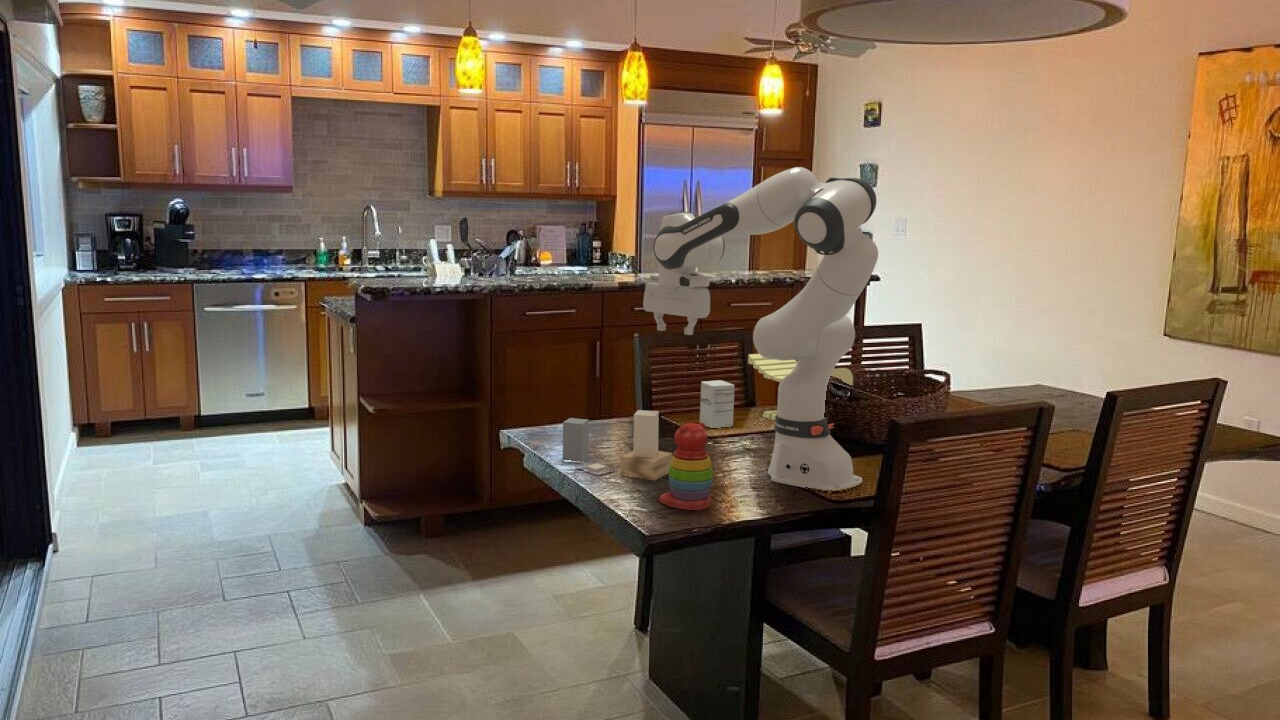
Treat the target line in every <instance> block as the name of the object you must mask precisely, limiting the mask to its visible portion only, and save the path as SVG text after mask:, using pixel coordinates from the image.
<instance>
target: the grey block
mask: <svg viewBox="0 0 1280 720" xmlns="http://www.w3.org/2000/svg"><path fill="white" fill-rule="evenodd" d="M589 422H590V419H585V418H575V417H570V418H568V419H566V420H564V421H563V422H562V461H563V460H571V461H580V462H582V461H584V460H585V459H586V458H588V457H589V452H590V451H589V449H590V448H589V447H590V446H589V444H590V443H589V442H590V439H589V438H590V436H589V435H590V433H589V432H590V423H589Z"/></svg>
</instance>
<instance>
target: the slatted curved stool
mask: <svg viewBox="0 0 1280 720" xmlns="http://www.w3.org/2000/svg"><path fill="white" fill-rule="evenodd" d="M797 362H798V360H784V361H782V360H775V359H769V358H765V357H762V356H761V355H760V354H759V353H751V354H750V353H749V354H748V358H747V364H749V365H753V366H752V367H753V369H756V370H758V372H757V373H759V374H761V375H762V374H763V378H764V379H768V380H772V381H775V382H778V383H780V382H781V380H782V379H783V378H784V377H785V376H787V375H788V374H790V373H791V372H792V371H793V369H794V368H795V366H796V364H797ZM831 376H834V377H836V378H839V379H841V380H842V381H843V382H845V383H847V384H849V385H852V386H853V385H854V377H853V373H852V371H851V370H850V369H849V368H847V367H840V368H834V369H833V371H832V374H831ZM776 415H777V409H773V410H767V411H763V414H762V416H764V417H767V418H771V419H773V420H775V416H776ZM764 417H763V418H764ZM771 419H770V420H771Z"/></svg>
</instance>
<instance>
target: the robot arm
mask: <svg viewBox="0 0 1280 720" xmlns="http://www.w3.org/2000/svg"><path fill="white" fill-rule="evenodd" d="M876 207H877V195H876V192H875V189H874V188H873V186H871V184H870V183H869V182H867V181H865V180H863V179H861V178H857V177H845V178H841V177H829V178H827V180H826V181H825V182H820V181H819V180H818V178H817V177H816V175H815V174H814V173H813V172H812V171H811V170H809V169H807V168H806V167H801V166H795V167H792V168H788V169H786V170H783V171H780V172H778V173H776V174H774V175H772V176H770V177H768V178H766V179H765V180H763V181H762V182H760V183H758V184H756V185H755V186H754V187H752V188H750V189H748V190H746V191H745V192H743V193H741V194H740V195H738V196H736V197H734V198H733V199H730V200H728V201H726V202H725V203H723V204H720V205H719V206H717V207H715V208H712V209H711V210H709V211H706V212H704V213H703V214H701V215H699V216H695V215H694V214H693V213H691V212H688V211H679V212H671V213H667V214H666V215H665V216H663V218H662V220H661V224H660V231H659V232H658V234H656V237H655V239H654V242H653V253H654V256H655V258H656V260H657V262H658V275H650V277H648V278H647V279H646V281H645V289H644V294H643V302H642V305H643V306H642V307H643V310H644V311H645V312H650V313H653V318H654V320H655V323H656V324H657V325H656V330H657V331H660V332H661V331H662V332H663V331H664V332H665V331H666V330H667V328H666V327H667V323H665V321H664V319H663V317H664V315H665V314H666V315H671V316H677V317H678V316H680V317H687V322H688V324H687V326H685V327H684V328H683V334H684V335H687V336H692V335H693V334H694V328H695V326H696V325H697V322H698V319H703V318H704V319H706V318H707V317H708V316H709V315H710V313H711V294H710V290H709V289H708V287H709V286H710V283H711V282H710V278H709V277H707V276H706V275H703V274H702V273H700V272H698V271H696V270H695V268H700V267H701V268H703V267H705V268H706V267H711V266H715V265H717V264H719V263H720V261H721V260H722V259H723V257H724V254H725V248H726V246H725V245H726V244H725V240H724V239H725V237H732V236H753V235H754V236H756V235H758V236H759V235H764V234H770V233H771V232H776V231H779V230H781V229H783V228H784V227H786V226H788V225H790V224H791V223H793V222H794V223H793V225H794V229H795V232H796V235H798V238H800V240H801V241H802V243H804V244H805V245H806V246H808V247H809V248H811V249H813V250H814V251H815V252H816V253H817V254H819V255H822V256H823V257H822V259H821V261H820V262H819V264H818V265H817V267H816V269H815V270H814V272H813V274H812V275H811V277H810V278H809V279H808V281H807V283H806V285H805V286H804V287H803V288H802V289H801V290H800V291H799V293H797V294H796V295H795V296H794V297H793V298H791V300H788V302H787V303H786V304H784V305H783V306H782V307H780V308H779V309H777V310H775V311H774V312H772V313H770V314H768V315H766V316H763V317H761V318H760V319H759V320H758V321H757V323H756V325H755V326H754V328H753V334H752V339H753V340H752V341H753V344H754V348H755V350H756V351H757V354H760V355H761V356H762V357H765V358H769V359H775V360H782V361H784V360H796V361H797V364H796V366H795V368H794V369H793V371H792V372H791V373H790V374H788V375H787V376H785V377H784V378H783V379H782V380H781V382H779V384H778V387H777V388H778V389H777V408H776V410H777V415H776V416H775V421H774V433H775V438H774V445H773V449H772V450H773V451H772V456H771V459H770V460H771V461H770V464H769V467H768V469H767V474H768V476H770V481H772V482H775V483H778V484H783V485H788V486H794V487H800V488H804V489H806V488H805V487H808V488H816V489H822V490H829V491H830V490H840V489H846V488H850V487H853V486H856V485H858V484H860V483H861V482H862V483H863V477H861V476H859V475H856V474H854V468H853V467H854V466H853V460H852V457H851V456H850V454H849V453H848V452H847V451H846V450H845V449H844V448H843V446H841V445H840V444H839V443H838V442H837V441H836V440H835V439H834V438H833V436H832V435H831V431H830V429H834V428H835V427H834V425H835V424H834V422H832V423H829V424H828V420H827V419H826V418H825V417H824V413H825V400H826V391H827V385H828V382H829V379H830V376H831V374H832V371H833V369H836V368H835V367H836V365H837V364H838V363H839V361H840V360H841V359H842V358H843V356H844V355H846V354H847V353H848V352H849V351H850V350H851V349H852V347H853V345H854V343H855V339H856V330H855V326H854V324H853V323H854V322H852V320H851V319H850V317H849V316H847V315H848V313H849V312H850V311H851V309H852V307H853V306H854V304H855V303H856V301H857V300H858V299H859V297H860V295H861V293H862V292H863V290H865V287H866V286H867V284H868V283H869V280H870V278H871V276H872V274H873V273H874V270H875V266H876V264H877V262H878V258H879V250H878V249H879V248H878V247H877V244H876V243H875V242H874V241H873V239H872V238H870V237H869V236H868V235H866V234H864V232H863V230H862V227H861V226H862V225H865V223H867V222H868V221H869V219H871V217H872V216H873V214H874V212H875V210H876ZM808 488H807V489H808Z"/></svg>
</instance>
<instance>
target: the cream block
mask: <svg viewBox="0 0 1280 720" xmlns="http://www.w3.org/2000/svg"><path fill="white" fill-rule="evenodd" d="M659 413H660V412H659V410H641V409H638V410H636V411H635V413H634V414H633V450H632V451H633V456H634V457H650V458H655V456H656V455H657V453H658V451H659V428H660V427H659V422H660V421H659V415H660V414H659Z"/></svg>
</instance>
